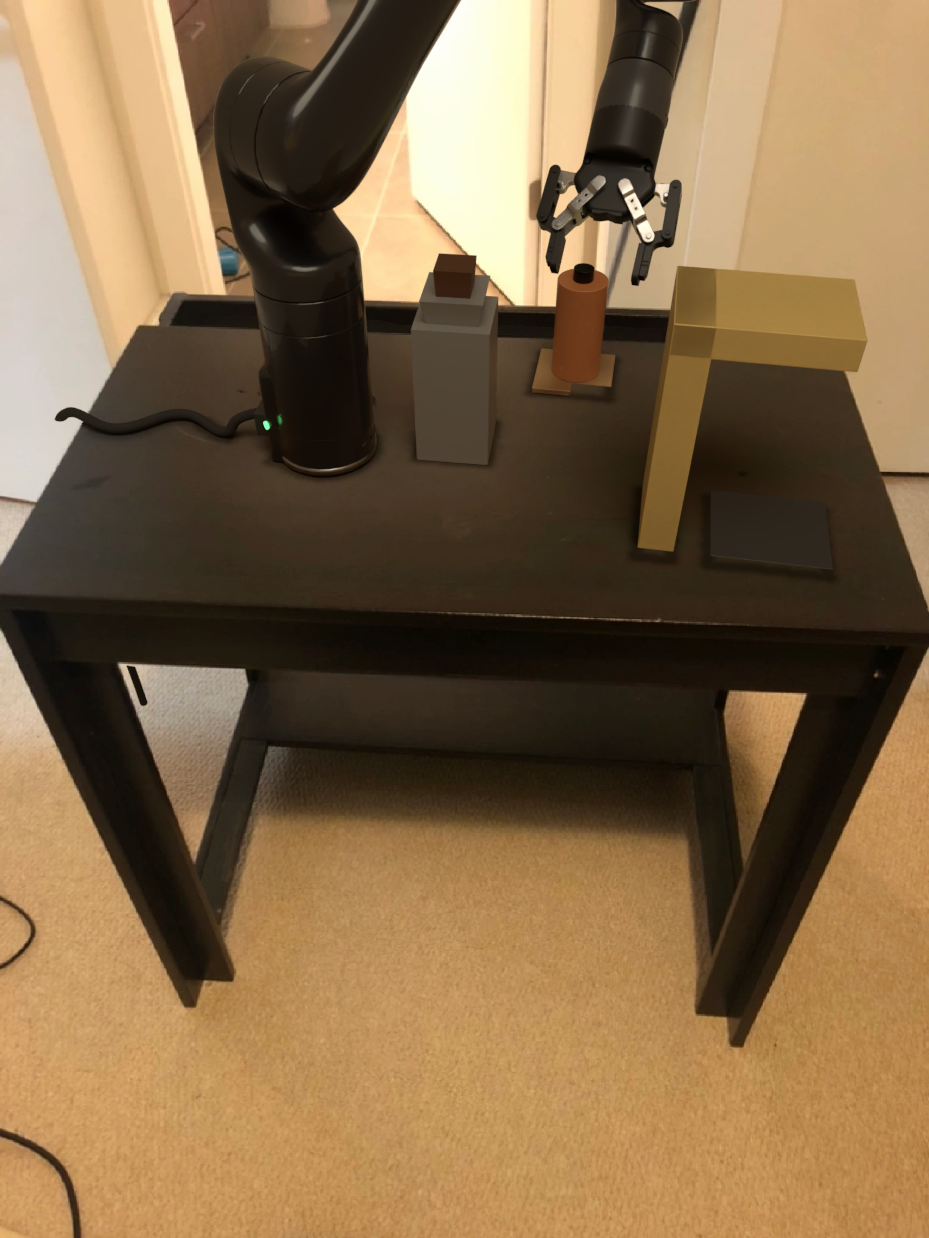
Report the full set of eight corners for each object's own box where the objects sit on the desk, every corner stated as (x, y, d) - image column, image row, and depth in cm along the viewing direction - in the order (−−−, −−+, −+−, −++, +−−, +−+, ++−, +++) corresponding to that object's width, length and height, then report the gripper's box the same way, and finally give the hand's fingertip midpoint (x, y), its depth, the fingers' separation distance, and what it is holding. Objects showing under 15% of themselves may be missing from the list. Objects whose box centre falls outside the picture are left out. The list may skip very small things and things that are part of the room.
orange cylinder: (548, 380, 102) (555, 277, 94) (554, 355, 105) (561, 254, 97) (597, 384, 101) (608, 281, 93) (601, 359, 104) (611, 258, 97)
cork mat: (531, 392, 101) (531, 387, 101) (541, 353, 107) (541, 348, 106) (609, 400, 100) (610, 395, 100) (615, 359, 106) (615, 354, 105)
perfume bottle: (495, 424, 97) (499, 247, 84) (487, 465, 92) (490, 284, 80) (428, 419, 98) (421, 243, 85) (416, 459, 93) (408, 279, 80)
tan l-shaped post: (636, 556, 83) (673, 323, 68) (641, 491, 90) (677, 265, 74) (830, 578, 81) (914, 344, 66) (822, 510, 88) (897, 282, 72)
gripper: (557, 94, 99) (521, 254, 99) (699, 109, 95) (661, 274, 96) (566, 132, 106) (532, 280, 106) (698, 147, 103) (663, 299, 103)
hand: (593, 277), depth 101 cm, fingers open, 8 cm apart
